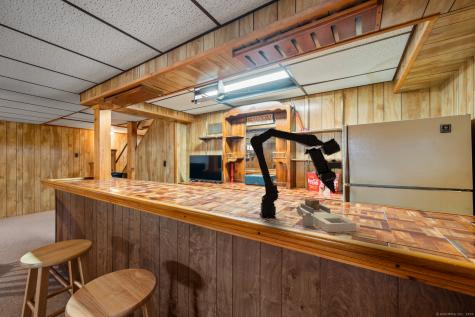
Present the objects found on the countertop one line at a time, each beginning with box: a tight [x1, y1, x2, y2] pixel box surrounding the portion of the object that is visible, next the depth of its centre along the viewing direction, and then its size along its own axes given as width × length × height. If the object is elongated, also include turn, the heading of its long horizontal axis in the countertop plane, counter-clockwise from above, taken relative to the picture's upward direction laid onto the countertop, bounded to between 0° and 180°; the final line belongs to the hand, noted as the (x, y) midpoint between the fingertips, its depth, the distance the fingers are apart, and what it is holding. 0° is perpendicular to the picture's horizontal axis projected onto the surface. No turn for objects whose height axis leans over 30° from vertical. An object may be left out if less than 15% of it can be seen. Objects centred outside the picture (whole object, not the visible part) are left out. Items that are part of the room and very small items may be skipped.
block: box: [304, 198, 320, 210], centre depth 102 cm, size 5×5×4 cm
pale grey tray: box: [296, 203, 357, 233], centre depth 92 cm, size 12×28×5 cm, turn 7°
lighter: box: [295, 204, 314, 227], centre depth 86 cm, size 7×2×8 cm, turn 68°
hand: (332, 190), depth 94 cm, fingers open, 9 cm apart
